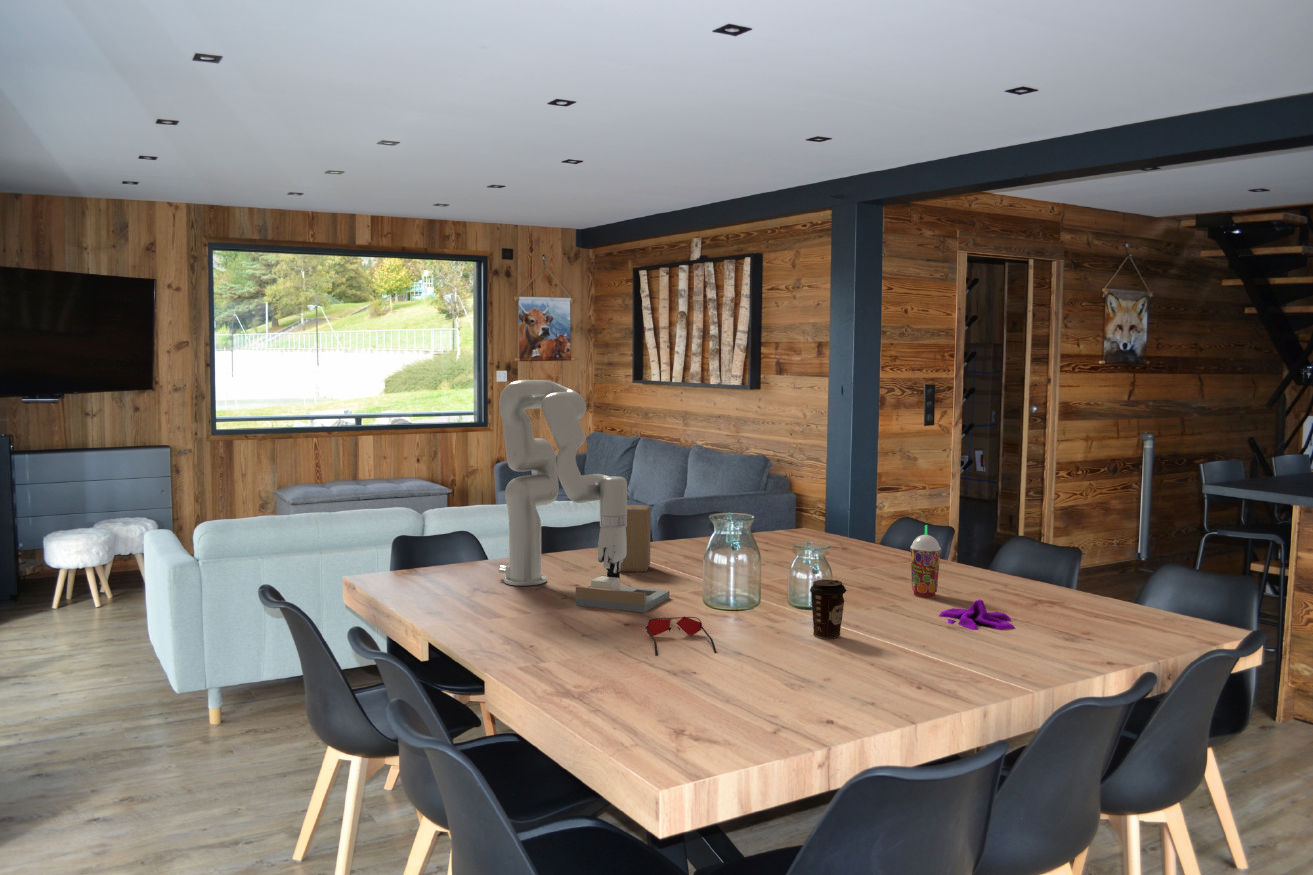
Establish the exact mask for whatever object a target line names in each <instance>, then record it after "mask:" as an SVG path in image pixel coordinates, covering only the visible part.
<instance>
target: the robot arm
mask: <svg viewBox="0 0 1313 875" xmlns="http://www.w3.org/2000/svg"><path fill="white" fill-rule="evenodd" d="M498 406H499V408H498V409H499V413H500V414H499V415H500V417H501V421H502V426H503V427H502V428H503V435H504V436H503V438H504V447H505V455H506V462H507V465H508V467H509V469H511V470H512V471H514V472H529V471H531V474H528V475H522V476H521V475H520V476H517V477H515V478H514V477H513V478H512V479H511V480H510V481H509V482H507V485H506V487H505V491H504V496H505V497H504V498H505V502H506V507H507V512H508V513H507V514H508V515H507V516H508V561H509V562H508V565H507V566H506V565H500V566H499V567H498V573H499V574H505V576H504V578H503V582H504V584H506V585H509V586H521V587H523V586H524V587H525V586H527V587H528V586H537V585H542V584H545V583H546V582H547V576H546V575H543V574H542V521H541V517H540V514H539V512H538V509H537V507H541V506H547V505H550V504H552V503H554V502H555V501H556V500H557V498H558V495H559V492H560V491H559V486H560V484H561V487H562V490H563V492H564V493H565V494H566V496H567V497H568V499H569V500H570V501H572V502H574V503H575V504H583V503H588V502H595V501H599V527H600V528H599V535H598V543H597V545H598V547H597V561H598V562H599V563H600V564H601V563H603V568H604V569H606V570H605V572H606V577H616V578H620V579H621V572H620V569H621V563H622V562H623V559H624V558H625V557H626V554H627V539H626V527H627V505H628V483H627V482H628V481H627V479H626V478H625V477H623V476H617V475H615V476H610V475H606V474H602V473H593V474H581V472H580V470H579V466H578V464H577V459H576V457H577V456H576V455H577V451H578V450H579V448H580V447H581V446H583V445H584V444H585V442H586V438H587V436H586V433H585V432H584V430H583V427H582V426H581V423H580V419H582V418H584V416H585V415H586V412H587V404H586V401H585V398H583V396H582V395H581V394H580V393H579V392H577V391H575V390H573V389H571V388H568V387H566V386H563V385H562V384H559V383H556V382H555V381H552V380H549V379H521V380H515V381H512V382H509V383H508V384H507V385H506V386H505V387H504V388H503V389H502V391H501V392H500V396H499V400H498ZM528 409H530V410H531V409H532V410H533V409H534V410H535V409H541V412H542V413H543V417H544V419H545V421H546V423H547V426H548V428H549V430H550V432H551V435H552V437H553V439H554V441H555V444H556V446H557V448H558V451H557V456H556V451H555V450H554V447H553V446H552V444H551V442H549V441H548V440H547V439H545V438H539V437H537V438H535V437H534V432H533V431H534V430H533V429H534V428H533V423H532V421H531V419H530V416H529V414H528V413H527V412H526V410H528ZM559 482H560V484H559Z"/></svg>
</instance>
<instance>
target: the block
mask: <svg viewBox="0 0 1313 875" xmlns="http://www.w3.org/2000/svg"><path fill="white" fill-rule="evenodd" d="M651 512H652V511H651V507H650V505H648V504H645V505H644V504H627V527H626V539H627V554H626V557H625V558H624V559H623V562H622V563H621V569H620V573H621V572H625V573H631V572H632V573H646V572H647V571H648V570H649V568H650V565H651Z"/></svg>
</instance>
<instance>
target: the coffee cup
mask: <svg viewBox="0 0 1313 875" xmlns="http://www.w3.org/2000/svg"><path fill="white" fill-rule="evenodd" d="M812 583H813V584H812V586H810V589H809V592H810V593H811V607H812V609H811V610H812V623H813V624H812V626H813V634H812V635H813V637H816V638H819V639H828V640H829V639H836V638H840V636H841V628H842V627H841V626H842V623H843V614H844V606H845V598H844V594H846V592H847V589H846V587H845V585H843V582H842V581H840V580H838V579H834V580H833V579H825V578H823V579H818V580H814V581H813V582H812Z"/></svg>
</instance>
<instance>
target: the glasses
mask: <svg viewBox="0 0 1313 875" xmlns="http://www.w3.org/2000/svg"><path fill="white" fill-rule="evenodd" d="M671 619H672V620H673V619H679V620H678V621H676V622H675V624H676V625H677V629H678V631H679V632H681V631H683V632H685V633H686V635H688V636H694V635H696V634H697V633H699V632H701V631H703V632H704V634H705V635H706V636H707V637H708V639H709V640H710V643H711V646H712V650H713V653H714V654H717V653H718V652H717V649H716V646H715V641H714V640H713V638H712V636H710V634H709V633H708V631H706V629H705V628H704V627H703V623H702V621H701V619H700V618H698V617H696V616H695V617H694V616H682V617H681V616H680V617H679V616H678V617H656V618H650V619H648V621H647V623H646V625H645V629H646V634H648V637H650V638H651V640H652V641H653V644H654V654H655V656H656V657H658V655H659V653H658V644H657V641H656V639H655V636H658V635H660V634H662V633H666V632H667V631H668V633H670V632H671V630H672V627H671Z"/></svg>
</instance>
